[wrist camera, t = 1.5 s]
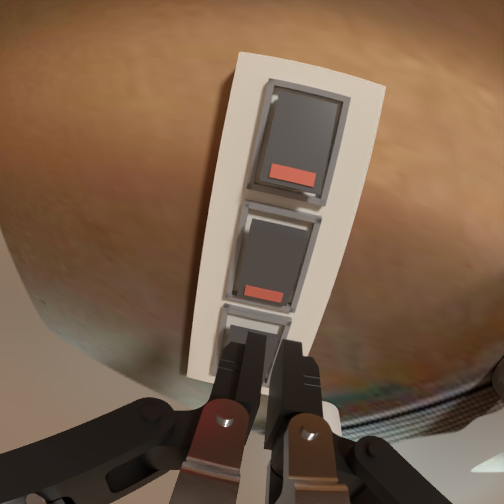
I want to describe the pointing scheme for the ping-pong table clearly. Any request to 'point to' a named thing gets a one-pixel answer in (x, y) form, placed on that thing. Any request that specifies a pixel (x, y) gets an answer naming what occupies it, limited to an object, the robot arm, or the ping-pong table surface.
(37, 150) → the ping-pong table surface
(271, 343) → the rocker
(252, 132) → the switch panel
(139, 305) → the ping-pong table surface
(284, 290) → the rocker
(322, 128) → the rocker
